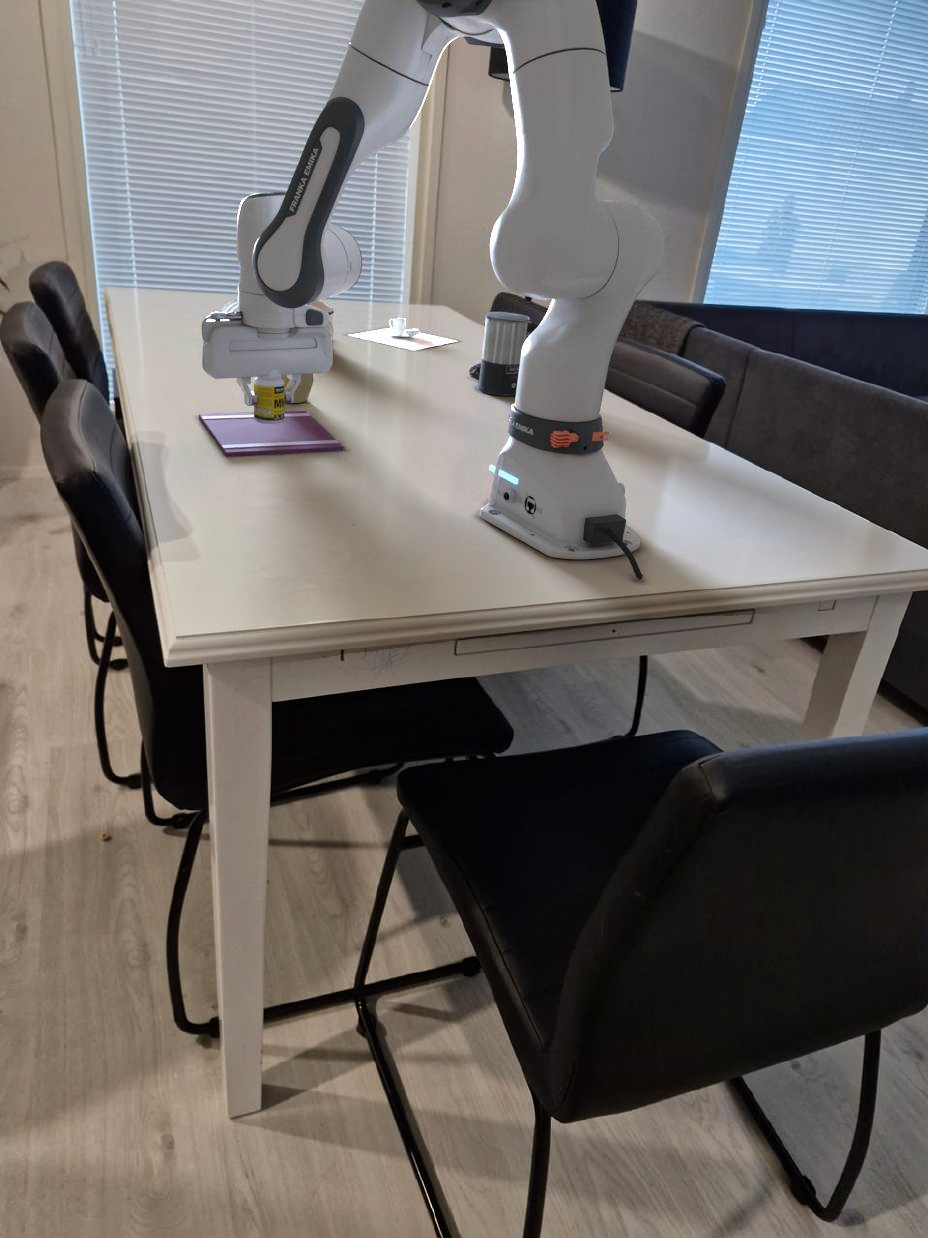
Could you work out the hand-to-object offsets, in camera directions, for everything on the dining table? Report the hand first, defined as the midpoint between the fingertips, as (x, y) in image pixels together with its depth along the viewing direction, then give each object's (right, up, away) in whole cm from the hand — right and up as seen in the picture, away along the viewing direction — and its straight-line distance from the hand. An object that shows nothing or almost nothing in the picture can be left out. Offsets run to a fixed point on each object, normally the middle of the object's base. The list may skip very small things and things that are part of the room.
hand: (269, 403), depth 137 cm
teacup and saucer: (+15, +36, +80) cm, 89 cm away
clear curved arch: (-16, +35, +72) cm, 82 cm away
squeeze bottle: (-1, +6, +21) cm, 22 cm away
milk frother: (+36, +15, +45) cm, 60 cm away
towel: (-1, -4, +2) cm, 5 cm away
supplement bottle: (0, -3, +1) cm, 3 cm away
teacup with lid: (-3, +26, +58) cm, 64 cm away
